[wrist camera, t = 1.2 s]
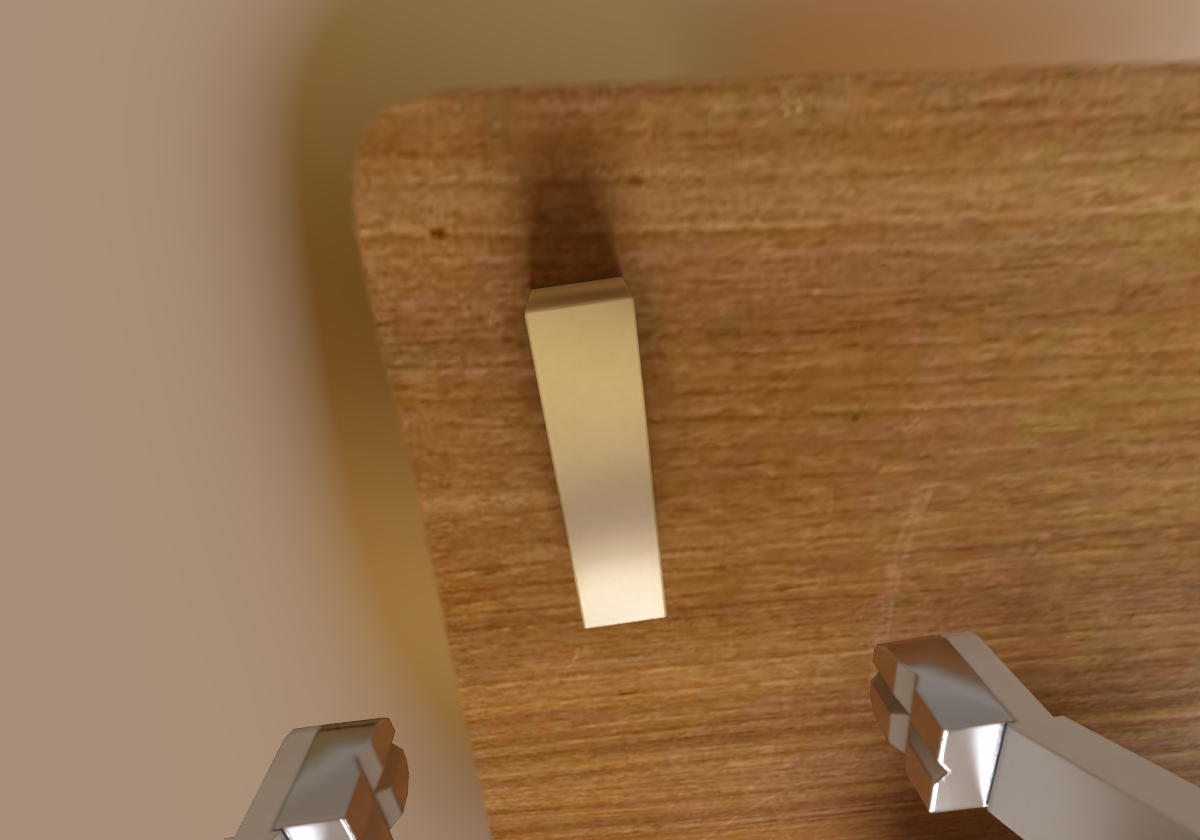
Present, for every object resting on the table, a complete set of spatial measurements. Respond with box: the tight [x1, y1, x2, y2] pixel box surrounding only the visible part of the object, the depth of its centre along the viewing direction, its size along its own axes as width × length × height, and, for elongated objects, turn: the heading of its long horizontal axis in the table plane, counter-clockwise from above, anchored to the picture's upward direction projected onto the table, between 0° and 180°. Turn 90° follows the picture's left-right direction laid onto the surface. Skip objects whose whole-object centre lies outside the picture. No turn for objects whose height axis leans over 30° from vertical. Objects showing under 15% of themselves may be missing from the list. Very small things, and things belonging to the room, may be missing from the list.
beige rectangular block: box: [524, 277, 667, 628], centre depth 16 cm, size 10×3×3 cm, turn 7°
